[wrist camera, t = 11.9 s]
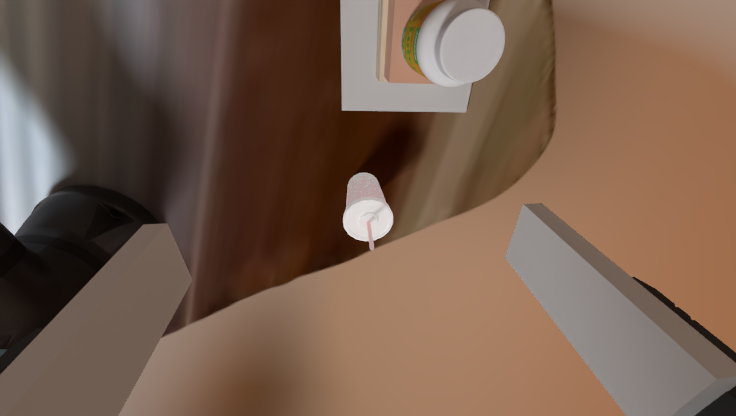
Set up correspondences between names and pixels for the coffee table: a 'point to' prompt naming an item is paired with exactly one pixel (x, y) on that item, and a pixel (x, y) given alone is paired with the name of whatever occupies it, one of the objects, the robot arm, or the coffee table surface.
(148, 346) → the robot arm
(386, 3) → the tower base block
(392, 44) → the tower top block
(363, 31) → the tower mat
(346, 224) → the beverage cup
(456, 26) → the supplement bottle
